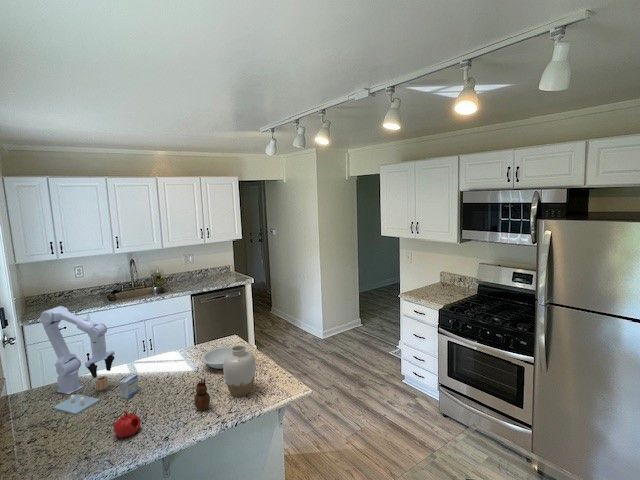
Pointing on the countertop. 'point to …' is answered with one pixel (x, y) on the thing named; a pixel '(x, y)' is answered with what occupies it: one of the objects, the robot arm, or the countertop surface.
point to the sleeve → (101, 384)
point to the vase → (239, 371)
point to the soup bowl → (216, 356)
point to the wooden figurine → (201, 396)
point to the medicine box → (129, 386)
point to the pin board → (76, 404)
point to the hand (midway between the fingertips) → (101, 373)
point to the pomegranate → (127, 425)
